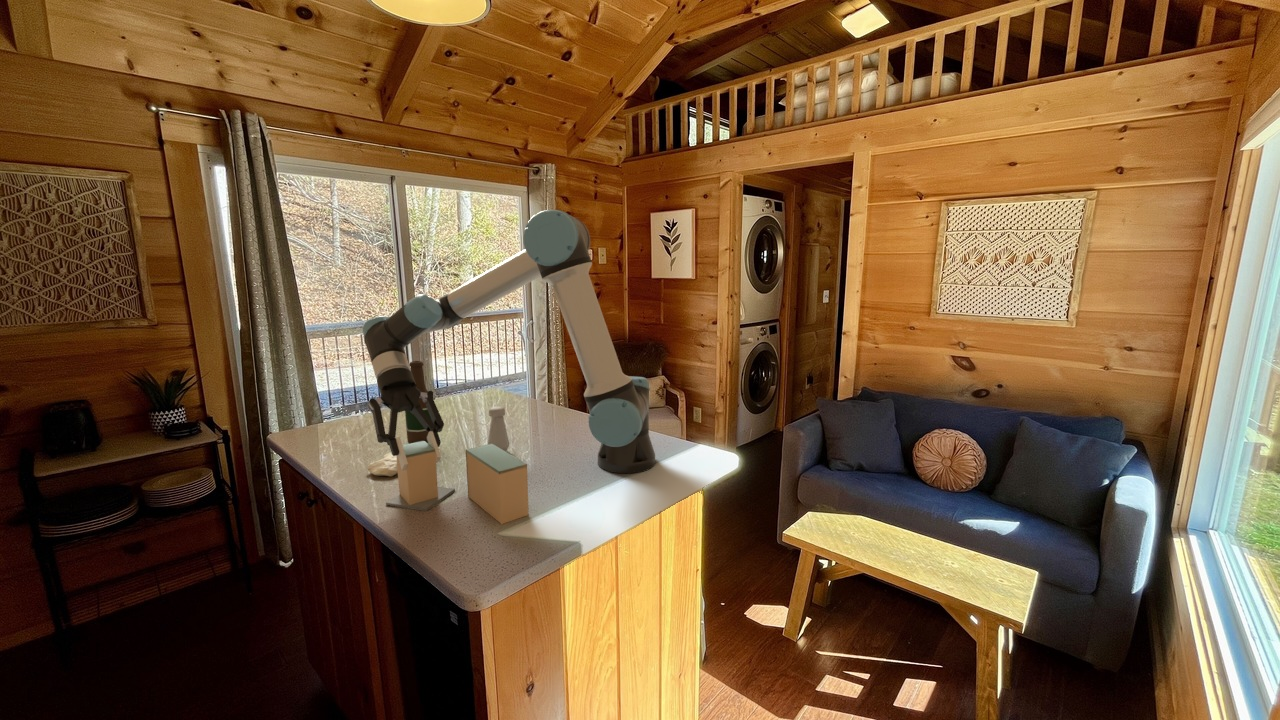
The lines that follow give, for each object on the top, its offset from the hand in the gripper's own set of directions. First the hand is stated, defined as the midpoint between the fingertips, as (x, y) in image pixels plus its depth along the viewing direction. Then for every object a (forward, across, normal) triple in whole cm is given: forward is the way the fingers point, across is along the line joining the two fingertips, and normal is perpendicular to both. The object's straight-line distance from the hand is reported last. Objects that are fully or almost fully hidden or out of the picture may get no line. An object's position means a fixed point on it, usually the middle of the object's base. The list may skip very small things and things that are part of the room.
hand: (421, 463), depth 109 cm
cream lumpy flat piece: (-11, -5, -25) cm, 28 cm away
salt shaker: (-7, -26, -20) cm, 34 cm away
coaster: (+4, 0, -9) cm, 10 cm away
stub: (+4, 0, -9) cm, 9 cm away
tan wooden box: (+14, -12, +1) cm, 18 cm away
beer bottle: (-22, -13, -36) cm, 44 cm away
